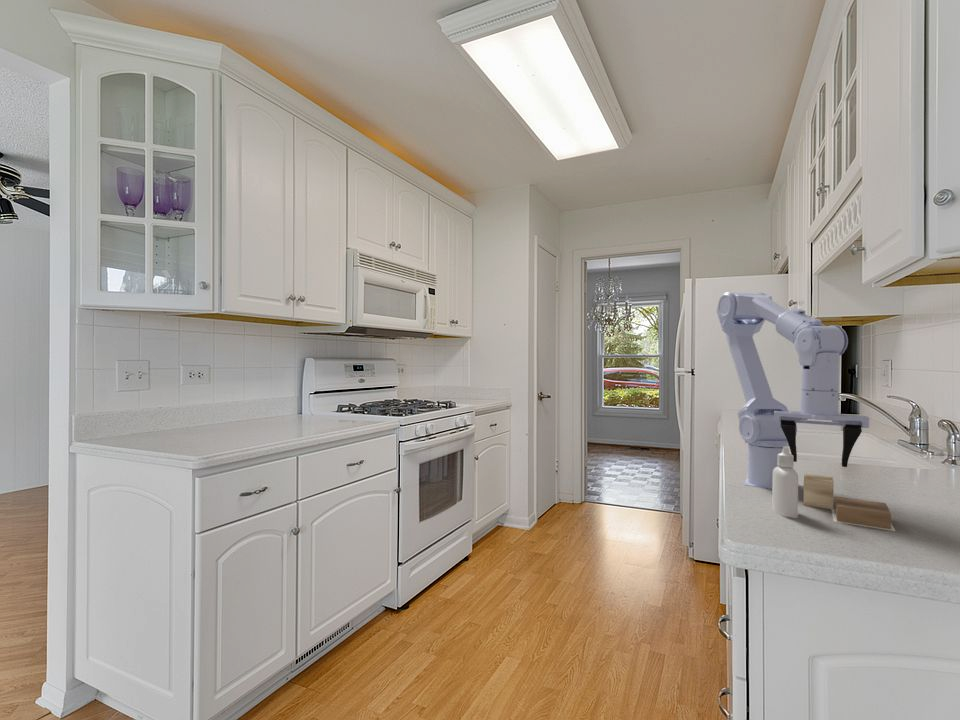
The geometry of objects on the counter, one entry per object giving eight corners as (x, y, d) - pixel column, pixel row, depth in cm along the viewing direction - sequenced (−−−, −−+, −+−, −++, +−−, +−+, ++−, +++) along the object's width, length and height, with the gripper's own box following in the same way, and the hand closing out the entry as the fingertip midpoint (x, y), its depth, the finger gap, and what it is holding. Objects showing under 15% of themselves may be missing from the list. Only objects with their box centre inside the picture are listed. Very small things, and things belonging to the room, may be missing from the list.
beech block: (803, 499, 97) (804, 473, 97) (832, 503, 94) (832, 476, 94) (803, 505, 93) (803, 478, 93) (833, 509, 91) (833, 481, 90)
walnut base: (835, 510, 90) (835, 496, 90) (885, 517, 86) (885, 503, 86) (837, 521, 84) (837, 506, 84) (890, 529, 80) (891, 513, 80)
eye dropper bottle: (801, 514, 89) (803, 446, 89) (796, 521, 85) (797, 450, 85) (773, 508, 92) (774, 443, 92) (766, 516, 88) (768, 447, 88)
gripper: (773, 389, 94) (772, 462, 94) (871, 393, 86) (870, 472, 86) (775, 387, 100) (774, 456, 100) (867, 391, 92) (866, 465, 92)
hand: (818, 463), depth 93 cm, fingers open, 7 cm apart
